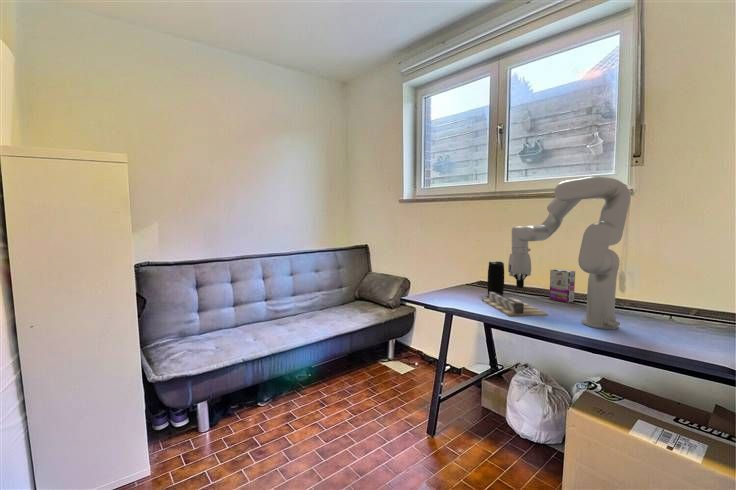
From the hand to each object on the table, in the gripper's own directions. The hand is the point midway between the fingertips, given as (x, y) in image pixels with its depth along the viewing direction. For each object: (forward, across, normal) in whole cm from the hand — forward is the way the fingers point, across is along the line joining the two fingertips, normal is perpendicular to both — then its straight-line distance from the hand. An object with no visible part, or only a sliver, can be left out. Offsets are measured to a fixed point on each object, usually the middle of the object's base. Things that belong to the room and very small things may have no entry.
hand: (520, 287), depth 172 cm
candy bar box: (+10, -28, -8) cm, 30 cm away
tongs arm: (+8, +9, +2) cm, 12 cm away
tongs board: (+9, +6, +2) cm, 11 cm away
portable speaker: (+9, +4, -20) cm, 22 cm away
